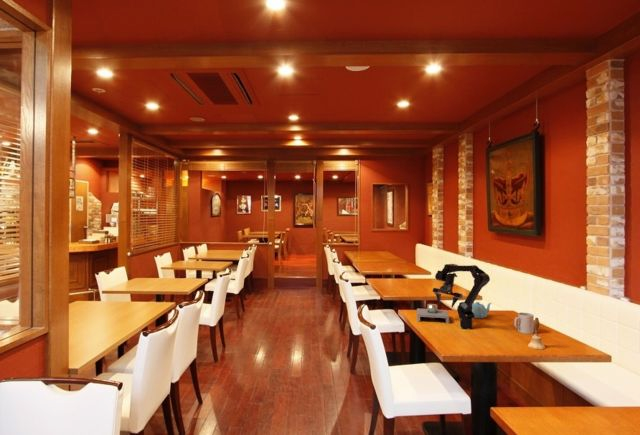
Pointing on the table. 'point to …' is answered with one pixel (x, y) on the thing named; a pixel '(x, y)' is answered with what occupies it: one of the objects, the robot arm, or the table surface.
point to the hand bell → (536, 337)
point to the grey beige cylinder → (432, 309)
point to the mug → (525, 323)
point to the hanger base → (433, 314)
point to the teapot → (480, 310)
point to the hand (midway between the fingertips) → (445, 305)
